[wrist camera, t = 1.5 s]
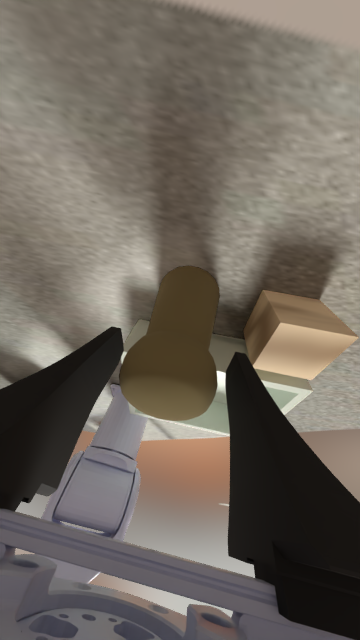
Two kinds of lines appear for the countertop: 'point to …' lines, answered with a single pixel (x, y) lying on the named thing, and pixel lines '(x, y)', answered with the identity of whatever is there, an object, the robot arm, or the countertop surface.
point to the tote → (222, 349)
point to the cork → (175, 350)
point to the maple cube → (294, 335)
